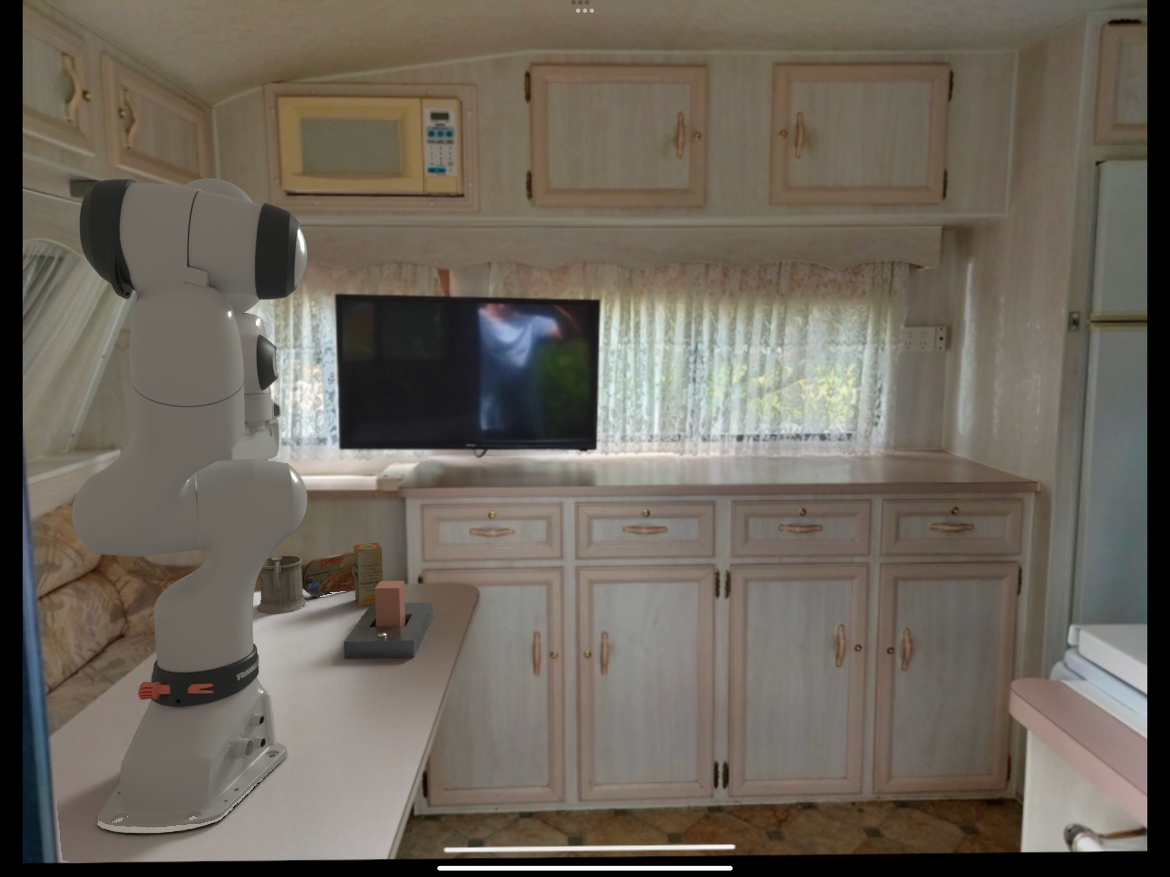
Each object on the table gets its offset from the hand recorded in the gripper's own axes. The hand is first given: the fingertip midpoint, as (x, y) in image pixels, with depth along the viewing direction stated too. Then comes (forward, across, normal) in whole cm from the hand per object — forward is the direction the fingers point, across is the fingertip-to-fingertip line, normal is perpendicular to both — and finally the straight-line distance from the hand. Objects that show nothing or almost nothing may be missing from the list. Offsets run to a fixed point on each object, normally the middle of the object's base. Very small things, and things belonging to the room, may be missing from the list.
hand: (248, 490), depth 128 cm
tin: (+29, +34, -4) cm, 45 cm away
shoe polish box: (+29, +27, -13) cm, 42 cm away
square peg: (+29, +7, -22) cm, 37 cm away
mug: (+29, +23, +4) cm, 37 cm away
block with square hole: (+29, +7, -22) cm, 37 cm away
